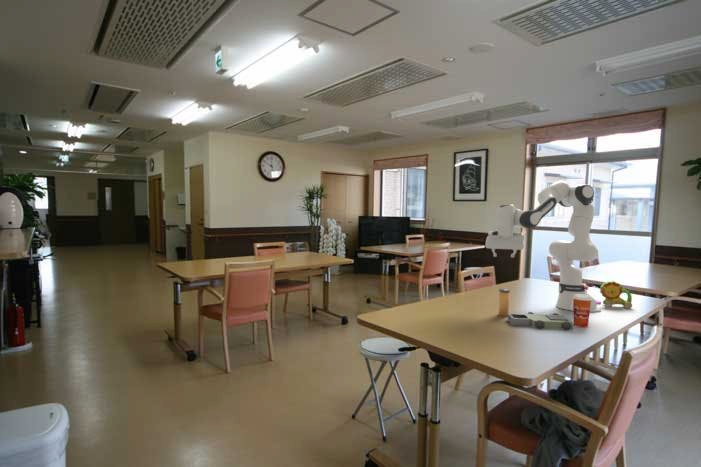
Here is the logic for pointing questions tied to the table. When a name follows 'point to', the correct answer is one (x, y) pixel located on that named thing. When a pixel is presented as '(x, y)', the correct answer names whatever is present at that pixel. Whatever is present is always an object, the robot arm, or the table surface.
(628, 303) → the toy lion
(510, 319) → the box
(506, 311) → the orange and grey cylinder
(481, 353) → the table surface
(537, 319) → the toy wheeled cart
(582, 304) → the coffee cup
